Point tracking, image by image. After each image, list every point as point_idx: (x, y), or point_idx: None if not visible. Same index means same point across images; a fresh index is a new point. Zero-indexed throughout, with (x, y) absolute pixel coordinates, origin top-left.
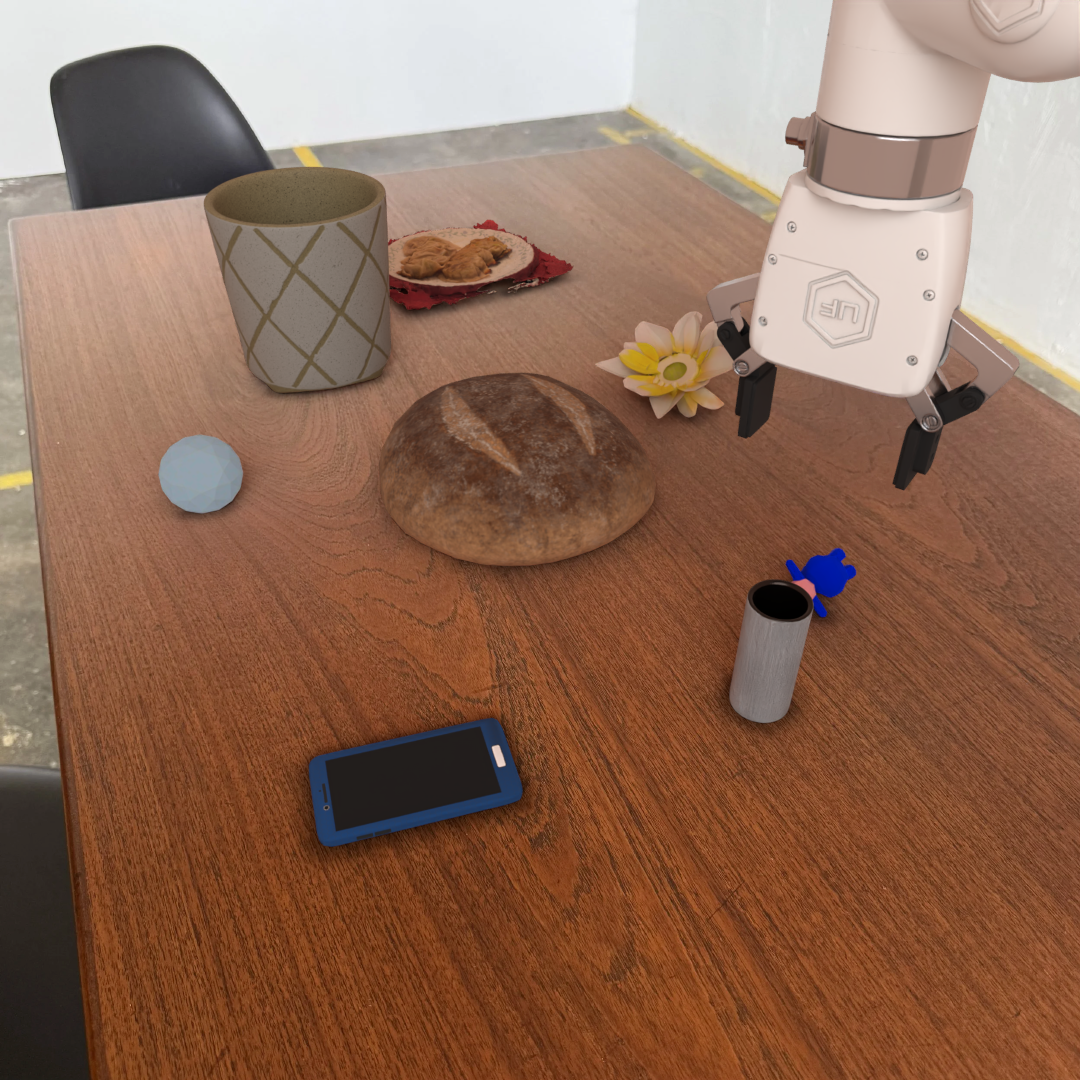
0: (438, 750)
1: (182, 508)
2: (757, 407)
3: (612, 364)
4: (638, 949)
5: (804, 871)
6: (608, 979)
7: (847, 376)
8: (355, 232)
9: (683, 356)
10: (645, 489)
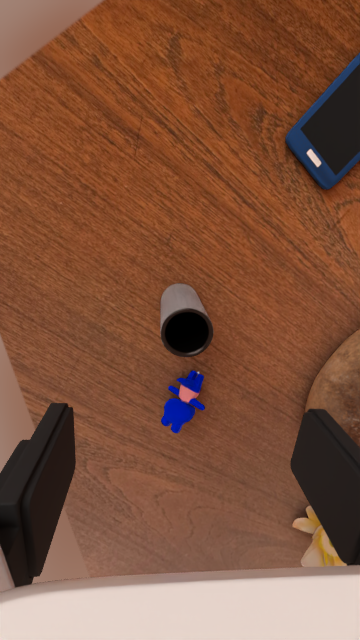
0: (354, 138)
1: None
2: (328, 461)
3: None
4: (170, 69)
5: (105, 188)
6: (177, 34)
7: (187, 616)
8: None
9: (336, 553)
10: None
